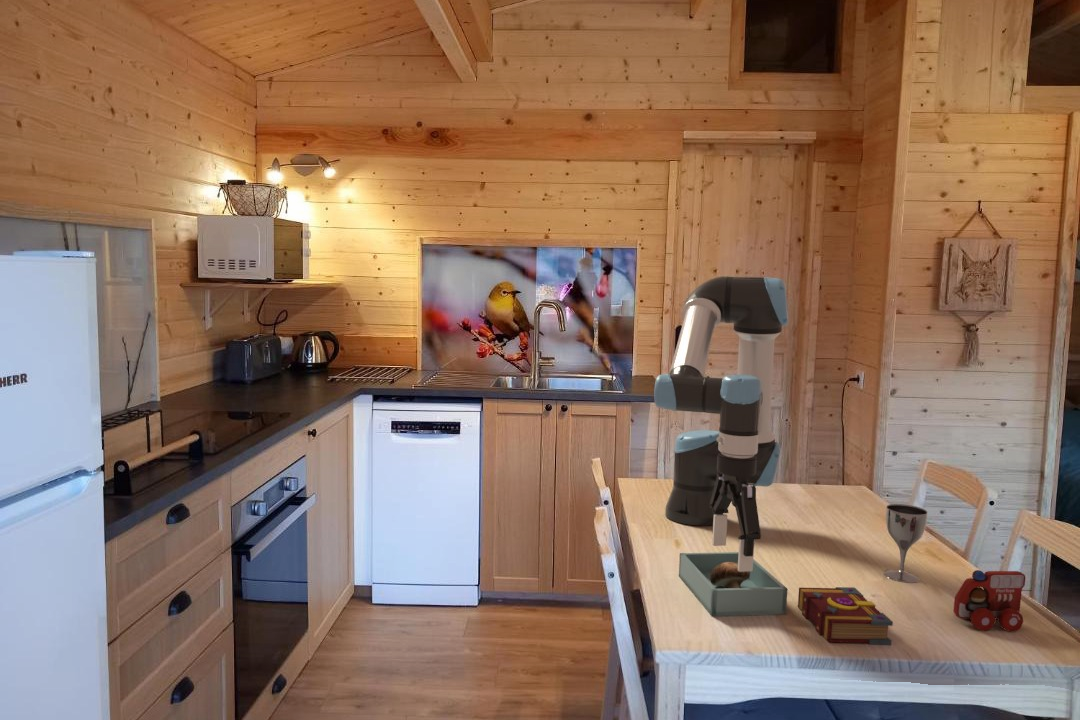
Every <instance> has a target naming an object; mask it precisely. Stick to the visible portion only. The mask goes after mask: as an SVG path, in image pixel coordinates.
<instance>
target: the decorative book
mask: <svg viewBox="0 0 1080 720" xmlns="http://www.w3.org/2000/svg"><path fill="white" fill-rule="evenodd" d="M797 607H798V609H800V611H801V615H802V616H803V618H804V619H806V620H809V621H810V623H811V624H812V625H814V627H815V631H816V633H818V635H819V636H822V637H824V638H825V640H826V641H827V642H828V643H859V644H860V643H861V644H863V643H864V644H866V643H867V644H869V645H889V646H890V645H892V640H891V638H889V637H888V634H889V633H888V632H889V626H891V627H893V625H894V623H893V622H894V621H892V619H890V618H889V617H888V616H887V615H886V614H885V613H883V612H881V611H880V610H878V608H876V604H875V603H874V602H873V601H872V600H869V601H868V600H867V598H865V597H864V594H862V593H861V592H860V591H859V590H858V589H857V588H856V587H851V586H849V587H847V586H846V587H844V586H842V587H839V586H837V587H832V588H831V587H798V600H797Z"/></svg>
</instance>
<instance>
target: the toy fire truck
mask: <svg viewBox="0 0 1080 720" xmlns="http://www.w3.org/2000/svg"><path fill="white" fill-rule="evenodd" d="M1025 586H1026V575H1025V574H1024V573H1022V572H1021V571H1018V570H1012V571H1011V570H1007V571H1006V570H987V571H985V572H984V571H982V570H980V569H976V570H974V571H973V572H972V575H971V577H970V578H966V579H964V581H963V583H962V585H961V586H960V588H959V589H958V591H957V592H956V594H955V596H954V601H953V614H954V615H955V616H956V617H958V618H959V619H970V623H971V625H973V627H974V628H976V629H977V630H979V631H981V632H982V631H983V632H987V631H989V630H991V629H993V627H994V626H995V624H996V619H997V621H998V622H997V623H998V626H1000V627H1001V628H1002V629H1004V630H1005V631H1007V632H1016V631H1018V630H1020V629H1021V628H1022V626H1023V625H1024V624H1023V623H1024V617H1023V616H1022V614H1021V613H1020V611H1021V609H1020V608H1021V601H1022V600H1021V599H1022V592H1023V591H1022V590H1023V589H1024V587H1025Z"/></svg>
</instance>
